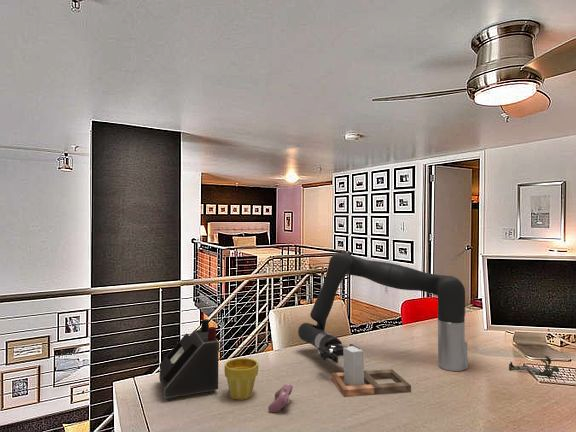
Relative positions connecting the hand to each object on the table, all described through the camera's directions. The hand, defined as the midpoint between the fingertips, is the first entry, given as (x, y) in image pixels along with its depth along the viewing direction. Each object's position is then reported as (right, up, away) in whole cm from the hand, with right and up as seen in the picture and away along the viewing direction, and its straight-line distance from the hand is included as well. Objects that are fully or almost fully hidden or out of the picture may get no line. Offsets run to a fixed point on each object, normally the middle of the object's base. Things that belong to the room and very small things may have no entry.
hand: (348, 358), depth 131 cm
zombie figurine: (+67, -9, +8) cm, 68 cm away
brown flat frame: (+7, -8, -3) cm, 10 cm away
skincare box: (+1, -8, -3) cm, 9 cm away
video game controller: (-22, -8, -17) cm, 29 cm away
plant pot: (-35, -8, -10) cm, 37 cm away
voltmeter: (-53, -8, -5) cm, 54 cm away
